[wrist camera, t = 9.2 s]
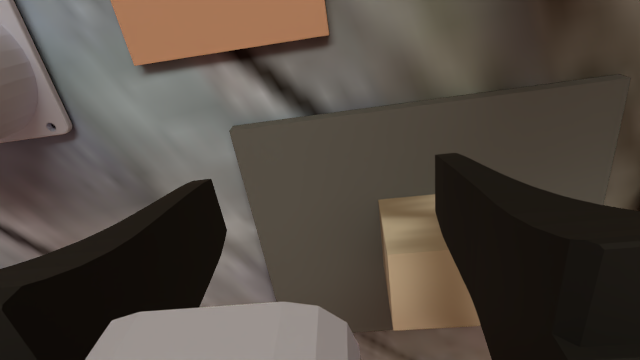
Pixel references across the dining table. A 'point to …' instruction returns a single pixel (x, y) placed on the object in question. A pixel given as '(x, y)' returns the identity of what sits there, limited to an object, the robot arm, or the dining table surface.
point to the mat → (408, 176)
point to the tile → (214, 25)
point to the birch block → (421, 268)
